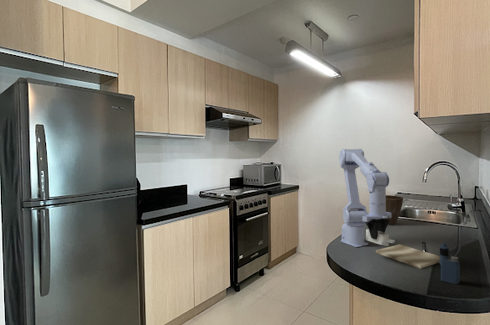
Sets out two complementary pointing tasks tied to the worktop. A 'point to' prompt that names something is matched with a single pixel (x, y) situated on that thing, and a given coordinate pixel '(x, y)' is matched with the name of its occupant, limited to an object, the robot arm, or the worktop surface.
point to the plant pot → (393, 207)
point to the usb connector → (379, 238)
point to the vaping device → (449, 266)
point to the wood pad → (409, 256)
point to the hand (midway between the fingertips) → (377, 237)
